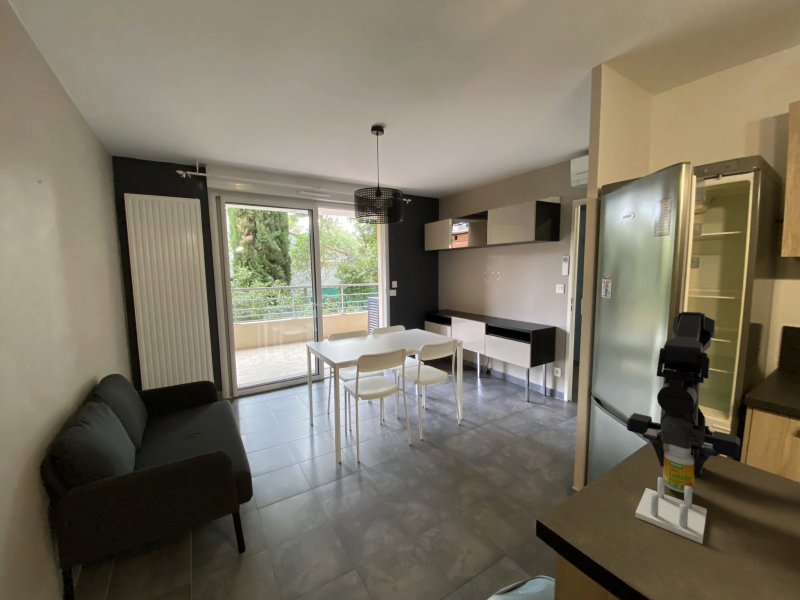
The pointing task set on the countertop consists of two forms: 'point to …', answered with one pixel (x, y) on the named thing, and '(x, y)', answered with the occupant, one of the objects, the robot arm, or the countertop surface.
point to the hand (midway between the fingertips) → (678, 470)
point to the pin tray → (673, 512)
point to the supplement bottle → (678, 468)
